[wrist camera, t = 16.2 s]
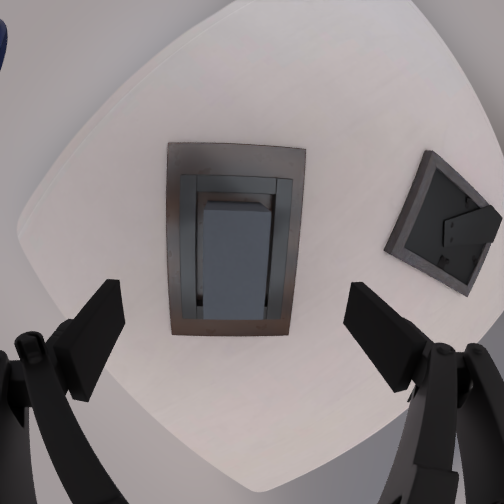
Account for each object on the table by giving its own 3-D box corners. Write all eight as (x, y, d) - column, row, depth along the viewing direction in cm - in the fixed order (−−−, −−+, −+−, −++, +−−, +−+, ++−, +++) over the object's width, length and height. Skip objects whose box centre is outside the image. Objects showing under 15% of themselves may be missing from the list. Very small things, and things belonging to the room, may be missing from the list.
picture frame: (493, 215, 32) (424, 150, 28) (502, 217, 30) (435, 150, 26) (461, 293, 35) (383, 250, 31) (469, 298, 33) (392, 255, 29)
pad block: (255, 291, 30) (263, 319, 24) (205, 290, 29) (203, 319, 23) (260, 202, 27) (271, 212, 21) (207, 200, 26) (203, 209, 21)
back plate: (286, 330, 33) (291, 342, 30) (173, 330, 31) (170, 342, 29) (303, 149, 27) (311, 148, 25) (169, 143, 25) (164, 141, 23)
